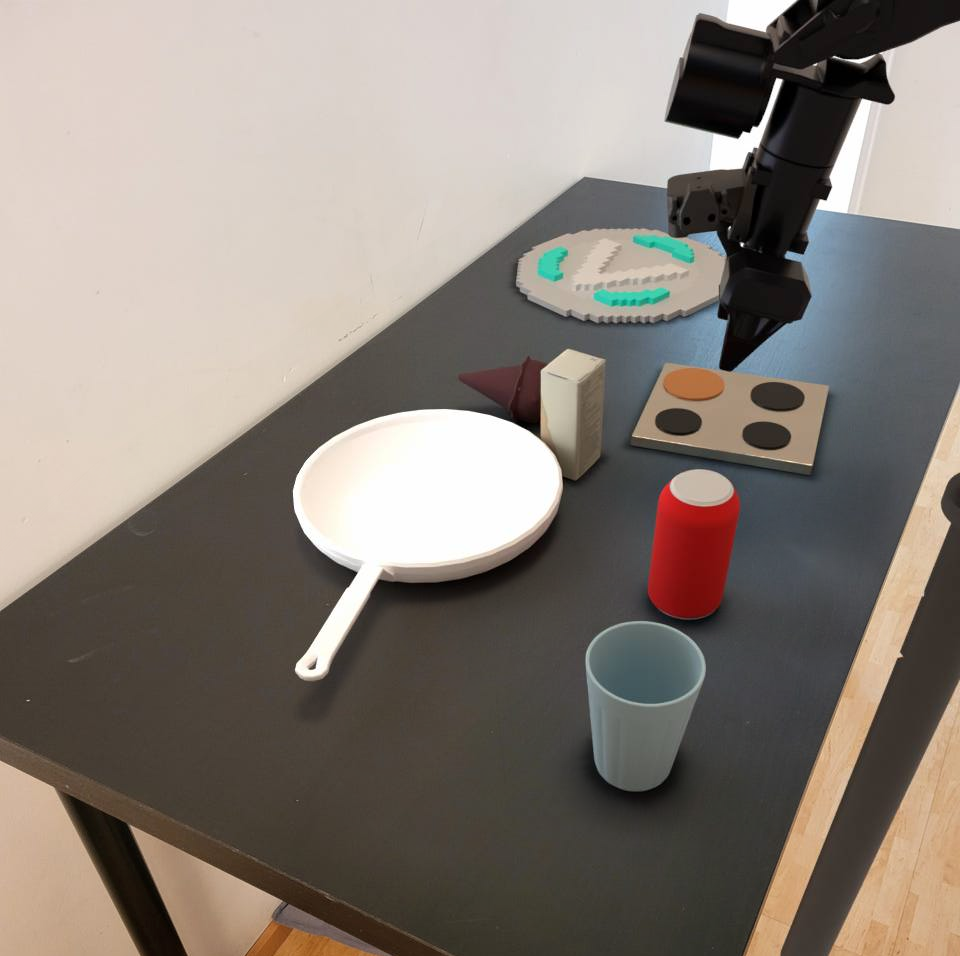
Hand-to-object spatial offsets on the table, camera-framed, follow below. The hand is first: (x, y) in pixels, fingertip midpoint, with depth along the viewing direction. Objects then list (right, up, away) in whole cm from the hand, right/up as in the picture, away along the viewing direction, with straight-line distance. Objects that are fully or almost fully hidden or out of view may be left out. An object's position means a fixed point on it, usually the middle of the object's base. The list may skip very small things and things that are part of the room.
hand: (723, 343), depth 80 cm
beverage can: (-4, -22, -1) cm, 23 cm away
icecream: (-16, -2, +21) cm, 26 cm away
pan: (-28, -18, +5) cm, 34 cm away
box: (-12, -8, +14) cm, 20 cm away
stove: (+6, -2, +19) cm, 20 cm away
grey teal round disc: (-2, +24, +46) cm, 52 cm away
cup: (-10, -34, -13) cm, 38 cm away
